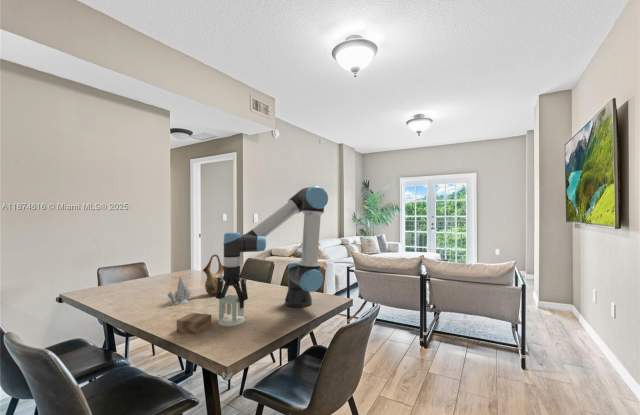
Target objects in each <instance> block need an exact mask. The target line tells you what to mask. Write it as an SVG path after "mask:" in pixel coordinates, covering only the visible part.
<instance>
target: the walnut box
mask: <svg viewBox="0 0 640 415" xmlns="http://www.w3.org/2000/svg"><path fill="white" fill-rule="evenodd" d="M210 327H212V314H209V313H208V314H207V313H199V312H198V313H197V312H191V313H188V314H187V315H185V316H183V317H181V318H179V319H177V320H176V333H181V334H188V335H189V334H191V335H199V334H200V333H202V332H204V331H205V330H206V329H207V330H208V329H209V328H210Z"/></svg>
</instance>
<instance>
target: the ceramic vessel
mask: <svg viewBox="0 0 640 415" xmlns="http://www.w3.org/2000/svg"><path fill="white" fill-rule="evenodd" d="M214 257H216V259H217V262H218V269H217V271H216V272H215V273H214V274H213V273H212V272H211V265H212V262H213V258H214ZM202 272H203V273H205V275H206V280H205V281H204V282H205V285H204V289H205V292H206V294H207V295H209V296H211V297H214V296H215V297H216V292H217V286H218V278H219V277H223V274H224V264H222V263H221V260H220V257H219V255H218V254H215V253H214V254H213V255H211V257H210V258H209V261H208V263H207V265H205V267H204V268H202ZM224 284H225V281H223V286H222V290H223V288H224Z"/></svg>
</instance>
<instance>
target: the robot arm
mask: <svg viewBox="0 0 640 415" xmlns="http://www.w3.org/2000/svg"><path fill="white" fill-rule="evenodd" d="M328 202H329V195H328V192H327V191H326V190H325V188H324V187H321V186H318V185H317V186H316V185H312V186H311V185H310V186H309V187H304V188H302V189H300V190H299V191H297V192H296V193H295V194H294V195H293V196H292V197H290V198H289V199H287V202H286V203H285V204H284V205H283V206H281V207H280V208H278V209H277V210H276V211H275V212H273V213H272V214H270V215H269V216H267V217H266V218H265V219H264V220H263V221H260V223H258V224H257V225H256V226H255V227H253V228H252V229H251V230H249V231H248V232H246V233H244V234H241V233H240V232H231V231H230V232H225V233H224V235H223V266H224V270H223V275H222V277H219V278H218V286H217V292H216V296H215V299H218V300H219V299H221V298H223V297H225V296H227V292H228V290H229V287H230V286H231V287H233V289H235V292H236V296H238V298H239V302H238V303H237V316H241V315H242V308H245V301H247V300H248V299H249V295H248V289H247V277H243V278H242V277H241V276H240V275H241V266H240V265H241V253H252V252H253V253H254V252H255V253H257V252H258V253H259V252H265V250H266V247H267V239H266V237H267V236H269V235H270V234H271V233H273V232H274V231H276V230H277V229H278V228H280V227H281V225H283V224H284V223H286V221H288V220H289V219H291V218H292V217H293V216H295V215H296V214H297V215H298V214H300V213H302V214H303V231H302V244H301V245H302V246H301V259H300V261H297V262H290V263H288V267H287V293H286V295H285V299H284V305H285V306H286V307H290V308H306V307H309V306H311V305H312V304H313V299H312V295H311V292H312V293H313V292H316V291H318V290H319V288H321V286H322V285H323V281H324V276H323V274H322V272H321V264H320V263H319V260H318V258H319V246H320V230H321V216H322V215H323V214H324V213H325V207H326V206H327V205H328ZM223 281H224V287H223V289H222V286H223ZM225 314H227V303H224V315H225Z"/></svg>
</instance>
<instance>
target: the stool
mask: <svg viewBox="0 0 640 415" xmlns="http://www.w3.org/2000/svg"><path fill="white" fill-rule="evenodd" d="M218 300H219V301H218V320H219V319H223V318H224V317H225V316H224V315H225V314H224V303H226V315H227V316H232V321H235V320H236V316H237V305H238V302H239V298H238V295H237V294H236V295H233V294H228V295H227V294H226V295H225V297H223V298H221V299H218ZM244 308H245V307H244ZM244 308H242V315H241V316H242V317H244V314H245V313H244V311H245V310H244Z"/></svg>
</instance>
